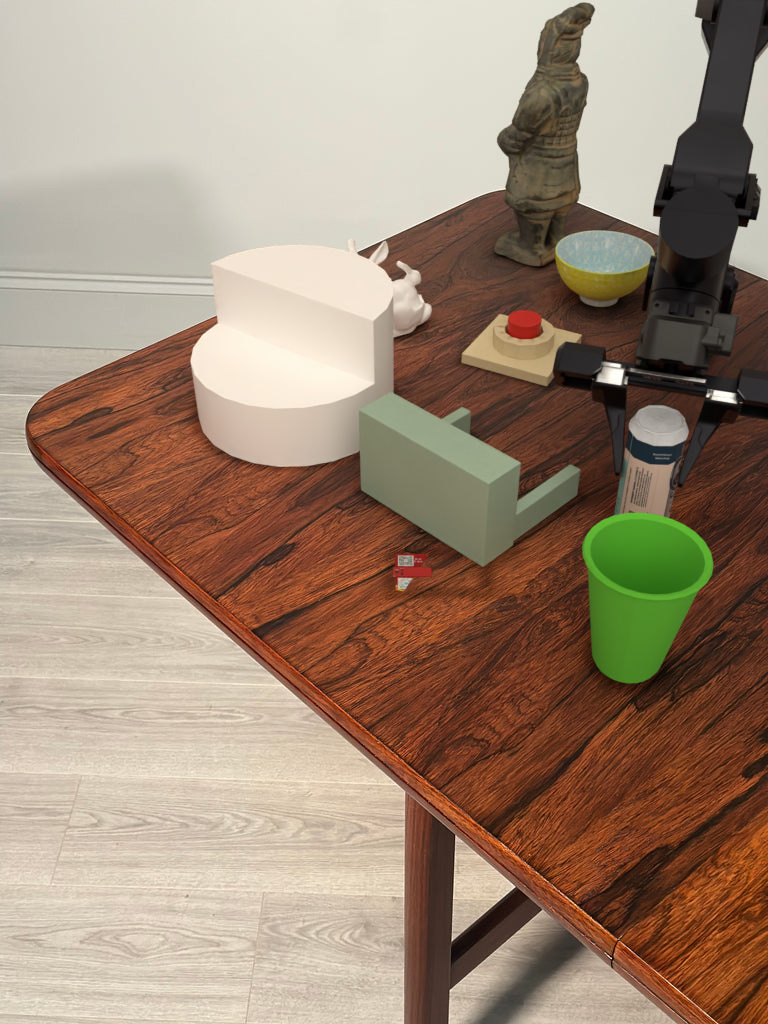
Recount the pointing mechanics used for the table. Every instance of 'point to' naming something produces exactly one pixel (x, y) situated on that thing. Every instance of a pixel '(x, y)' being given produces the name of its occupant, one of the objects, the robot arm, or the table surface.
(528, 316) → the button
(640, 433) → the beer can
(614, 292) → the bowl
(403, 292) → the rabbit figurine
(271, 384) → the white stepped cylinder
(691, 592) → the cup
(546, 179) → the statue
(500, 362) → the button box
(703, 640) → the table surface
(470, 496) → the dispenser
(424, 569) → the toy pistol
